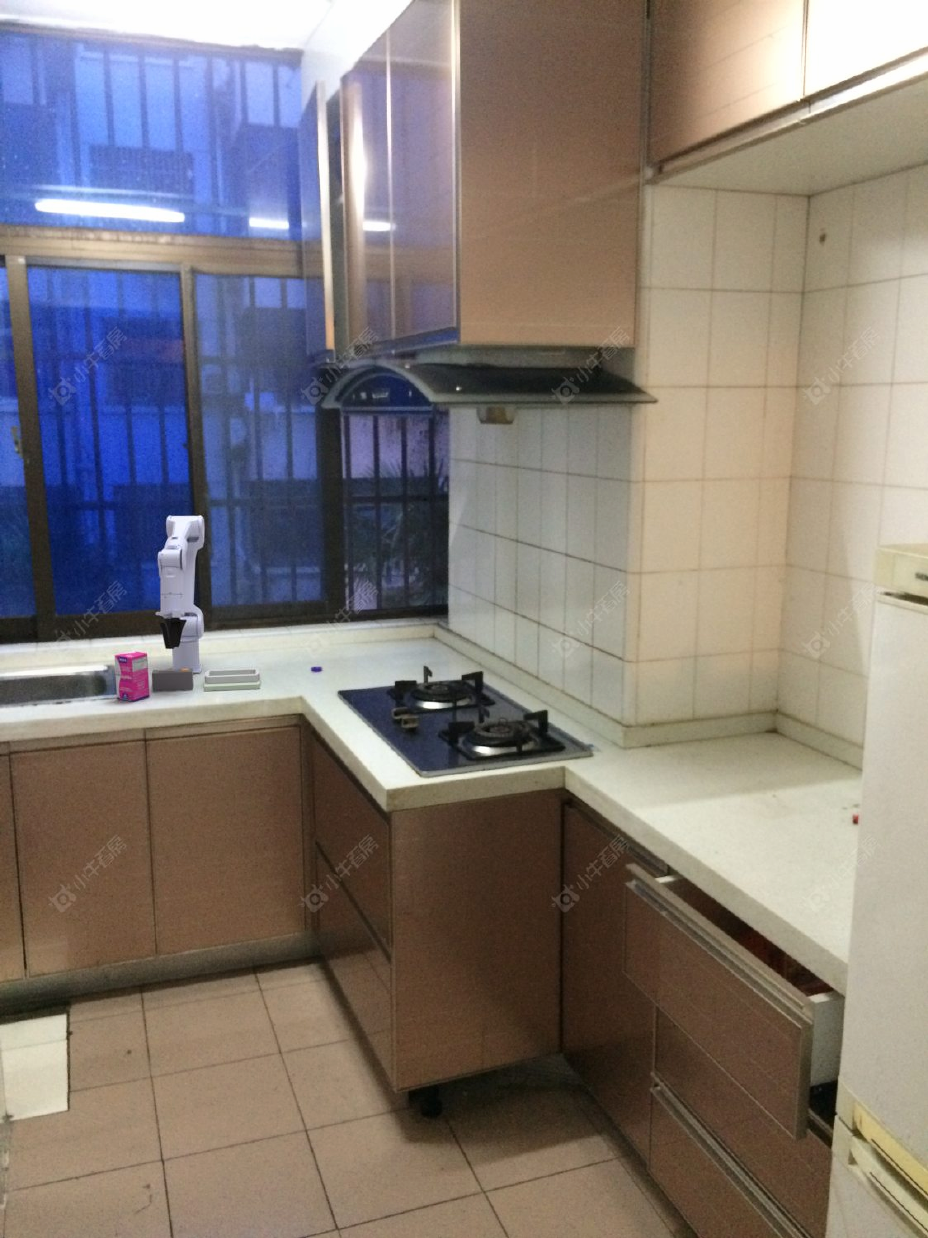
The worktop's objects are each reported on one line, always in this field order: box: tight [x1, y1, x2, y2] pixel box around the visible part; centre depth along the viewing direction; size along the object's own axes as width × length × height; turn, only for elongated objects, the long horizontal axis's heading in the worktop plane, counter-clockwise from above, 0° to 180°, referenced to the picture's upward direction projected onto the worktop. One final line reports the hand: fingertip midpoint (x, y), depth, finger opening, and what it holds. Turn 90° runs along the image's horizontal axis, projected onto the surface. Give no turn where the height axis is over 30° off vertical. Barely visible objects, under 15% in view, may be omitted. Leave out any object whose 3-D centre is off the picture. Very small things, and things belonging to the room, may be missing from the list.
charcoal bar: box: [151, 668, 194, 693], centre depth 266 cm, size 4×10×5 cm, turn 102°
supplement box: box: [113, 650, 151, 703], centre depth 256 cm, size 6×6×12 cm
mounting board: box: [203, 667, 261, 692], centre depth 272 cm, size 14×14×3 cm
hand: (172, 648), depth 264 cm, fingers open, 7 cm apart
